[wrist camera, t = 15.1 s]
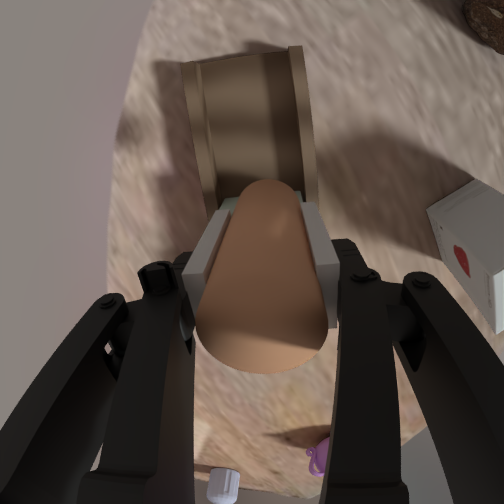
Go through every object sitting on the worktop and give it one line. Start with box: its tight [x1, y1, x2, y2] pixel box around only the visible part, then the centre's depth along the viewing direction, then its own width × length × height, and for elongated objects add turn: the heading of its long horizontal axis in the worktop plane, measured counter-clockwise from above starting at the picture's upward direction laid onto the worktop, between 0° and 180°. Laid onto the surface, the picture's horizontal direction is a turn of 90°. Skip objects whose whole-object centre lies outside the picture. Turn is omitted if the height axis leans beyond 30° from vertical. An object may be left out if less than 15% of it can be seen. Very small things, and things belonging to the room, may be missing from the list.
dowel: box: [195, 179, 329, 374], centre depth 14 cm, size 4×4×11 cm
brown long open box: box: [180, 46, 319, 222], centre depth 28 cm, size 26×11×8 cm, turn 8°
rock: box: [463, 0, 504, 55], centre depth 14 cm, size 12×10×10 cm
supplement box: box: [426, 179, 504, 335], centre depth 25 cm, size 9×9×15 cm
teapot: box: [306, 437, 330, 476], centre depth 52 cm, size 20×14×12 cm
